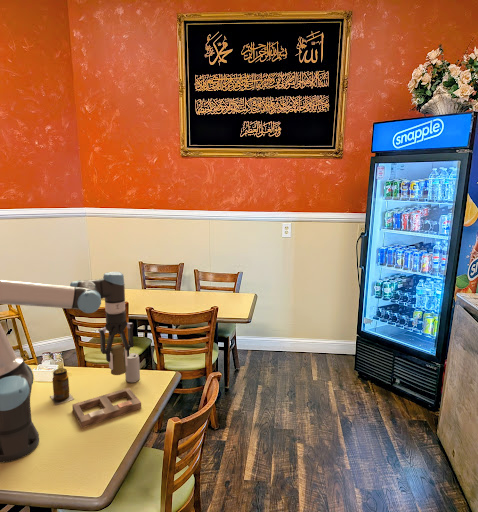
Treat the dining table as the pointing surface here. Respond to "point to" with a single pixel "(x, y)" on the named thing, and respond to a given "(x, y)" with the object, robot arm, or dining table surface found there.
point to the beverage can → (132, 368)
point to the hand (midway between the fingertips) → (118, 366)
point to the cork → (118, 360)
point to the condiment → (61, 387)
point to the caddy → (106, 407)
